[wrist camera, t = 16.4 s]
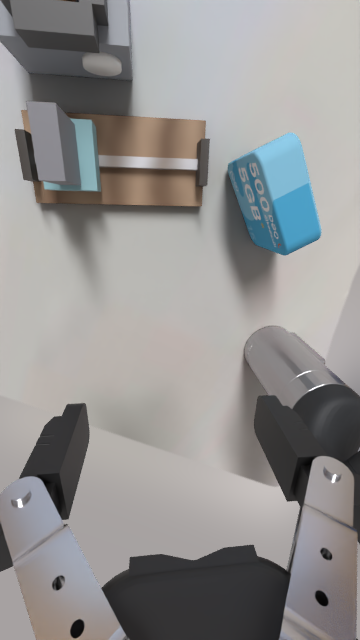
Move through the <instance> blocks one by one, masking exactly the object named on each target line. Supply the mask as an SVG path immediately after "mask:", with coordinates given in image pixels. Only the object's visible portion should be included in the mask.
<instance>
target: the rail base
mask: <svg viewBox="0 0 360 640" xmlns="http://www.w3.org/2000/svg"><path fill="white" fill-rule="evenodd" d="M21 112H22V118H23V124H24V130H21V129H15V134H16V140H17V145H18V151H19V157H20V162H21V168H22V173H23V179H24V180H28V181H33V184H34V190H35V196H36V202H37V203H68V204H115V205H162V206H202V189H203V186H206V185H207V178H208V159H209V140H210V139H205V125H206V121H202V120H185V119H167V118H150V117H133V116H115V115H98V114H81V113H65V114H66V115H67V116H68V117H69V118H70V119H88V120H92V121H93V123H94V125H95V126H96V135H97V147H98V159H99V171H100V183H101V192H96V191H58V190H46V189H44V183H43V181H40V180H39V179H38V173H37V167H36V160H35V154H34V148H33V142H32V135H31V129H30V123H29V116H28V110H21Z"/></svg>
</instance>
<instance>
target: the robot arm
mask: <svg viewBox="0 0 360 640" xmlns="http://www.w3.org/2000/svg"><path fill="white" fill-rule="evenodd" d="M244 355H245V359H246V361H247V363H248V364H249V366H250V367H251V369H252V370H253V372H254V374H255V375H256V377H257V378H258V380H259V381H260V383H261V384H262V386H263V388H264V389H265V391H266V392H267V394H268V395H266V396H259V397H258V399H257V405H256V412H255V419H254V429H255V433H256V436H257V438H258V440H259V442H260V444H261V446H262V449H263V451H264V453H265V455H266V457H267V459H268V461H269V464H270V466H271V468H272V470H273V472H274V474H275V476H276V479H277V481H278V483H279V485H280V487H281V489H282V491H283V493H284V495H285V497H286V500H287V501H298V503H299V505H300V510H299V515H298V519H297V524H296V529H295V533H294V538H293V543H292V548H291V553H290V557H289V561H288V566H287V570H285V569H284V568H282V567H281V566H279V565H277V564H276V563H274V562H272V561H270V560H267V559H265V558H262V557H258V556H257V554H256V551H255V548H254V545H247V546H237V547H227V548H223V549H220V550H218V551H216V552H213V553H212V554H209V555H207V556H204V557H202V558H200V559H198V560H187V559H183V558H178V557H173V556H168V555H163V554H159V555H147V556H138V557H130V564H129V569H128V570H126V571H123V572H122V573H120V574H118V575H116V576H115V577H114V578H112V579H111V580H110V581H108V582H107V583H106V584H105V585H104V586H103V587H102V588H100V585H99V583H98V581H97V579H96V577H95V575H94V573H93V572H92V570H91V568H90V566H89V564H88V562H87V560H86V558H85V556H84V554H83V552H82V550H81V549H80V546H79V545H78V543H77V541H76V539H75V537H74V535H73V533H72V531H71V529H70V527H69V526H68V525H67V524H66V525H65V524H64V523H63V521H62V520H66V519H69V515H70V511H71V507H72V504H73V500H74V496H75V492H76V489H77V485H78V481H79V477H80V474H81V470H82V466H83V463H84V459H85V455H86V451H87V447H88V443H89V424H88V416H87V408H86V404H85V403H80V404H67V406H66V408H65V410H64V412H63V415H62V416H57V417H53V418H52V419H51V420H50V421H49V422H48V423H47V424H46V425H45V426H44V429H43V431H42V433H41V435H40V438H39V439H38V441H37V443H36V446H35V447H34V449H33V451H32V453H31V455H30V457H29V459H28V461H27V463H26V465H25V467H24V469H23V472H22V473H21V475H20V478H19V479H18V480H16V481H14V482H13V483H11V484H10V485H9V486H7V487H6V488H5V489H4V490H3V491H2V492H1V494H0V572H1V571H3V570H5V569H8V568H10V567H12V566H14V569H15V572H16V576H17V579H18V582H19V586H20V589H21V592H22V595H23V598H24V602H25V605H26V608H27V612H28V615H29V618H30V621H31V625H32V628H33V631H34V635H35V637H36V640H358V639H357V638H356V620H357V542H359V543H360V451H359V452H358V449H359V447H360V396H359V395H358V394H357V393H356V392H354V391H353V390H352V389H351V388H350V387H349V386H348V385H346V384H345V383H344V382H343V381H342V380H341V379H340V378H339V377H338V376H336V375H335V374H334V373H333V372H332V371H331V370H330V369H328V368H327V367H326V366H325V359H324V358H323V357H321V356H320V355H319V354H318V353H317V352H316V351H315V350H313V349H312V348H311V347H310V346H309V345H308V344H306V343H305V342H304V341H303V340H302V339H301V338H300V337H298V336H297V335H296V334H295V333H289V332H288V331H286V330H285V329H283V328H281V327H277V326H268V327H264V328H262V329H260V330H258V331H256V332H255V333H254V334H253V335H252V336H251V337H250V338H249V339H248V341H247V343H246V345H245V349H244Z"/></svg>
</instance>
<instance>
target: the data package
mask: <svg viewBox="0 0 360 640" xmlns="http://www.w3.org/2000/svg"><path fill="white" fill-rule="evenodd" d="M228 173H229V177H230V180H231V183H232V186H233V188H234V191H235V194H236V197H237V200H238V203H239V206H240V209H241V212H242V214H243V217H244V220H245V223H246V226H247V229H248V232H249V235H250V237H251V239H252V241H253V242H254V244H256V245H257V246H260V247H263V248H265V249H268V250H271V251H273V252H276V253H279V254H281V255H288V254H290V253H292V252H294V251H296V250H298V249H300V248H302V247H304V246H306V245H308V244H310V243H312V242H314V241H316V240H318V239H319V238H320V236H321V226H320V221H319V217H318V213H317V209H316V204H315V200H314V196H313V192H312V187H311V183H310V179H309V175H308V170H307V166H306V162H305V158H304V153H303V149H302V145H301V142H300V140H299V138H298V137H297V136H296V135H295V134H294V133H287V134H285V135H283V136H281V137H279V138H277V139H275V140H273V141H271V142H269V143H267V144H265V145H263V146H261V147H259V148H257V149H255V150H253V151H251V152H249V153H247V154H245V155H244V156H242V157H240V158H238V159H236V160H234V161H232V162H230V163H229V164H228Z"/></svg>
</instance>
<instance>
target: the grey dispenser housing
mask: <svg viewBox="0 0 360 640" xmlns="http://www.w3.org/2000/svg"><path fill="white" fill-rule="evenodd" d="M0 42H1V43H2V44H3V45H4V46H5V47H6V48H7V49H8V50H9V52H10V53H11V54H12V55H13V56H14V57H15V58H16V59H17V61H18V62H19V63H20V64H21V65H22V66H23V67H24V68H25V69H26V71H27V72H28V73H36V74H50V75H64V76H78V77H92V78H105V79H119V80H133V79H132V52H131V25H130V0H76V2H71V1H61V0H0Z"/></svg>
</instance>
